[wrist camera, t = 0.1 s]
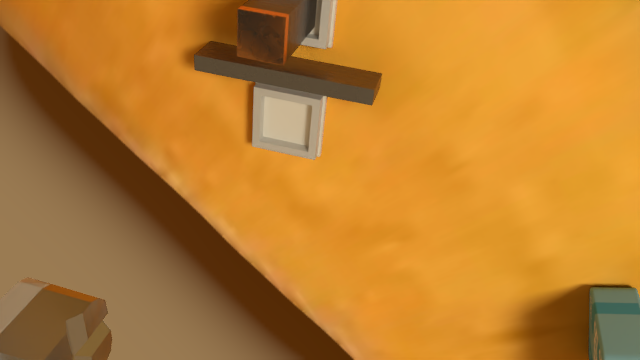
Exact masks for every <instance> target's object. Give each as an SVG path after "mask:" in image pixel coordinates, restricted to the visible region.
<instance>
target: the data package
mask: <svg viewBox="0 0 640 360" xmlns="http://www.w3.org/2000/svg"><path fill="white" fill-rule="evenodd" d="M589 360H640V298H639V294H638V291H637V289H636V288H611V287H592V288H590V298H589Z"/></svg>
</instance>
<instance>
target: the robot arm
mask: <svg viewBox="0 0 640 360" xmlns="http://www.w3.org/2000/svg"><path fill="white" fill-rule="evenodd" d="M107 314H108V311H107V306H106V302H105V300H103V299H100V298H96V297H93V296H90V295H86V294H83V293H80V292H76V291H73V290H70V289H66V288H63V287H60V286H56V285H53V284H50V283H46V282H42V281H39V280H35V279H32V278H25V279H23V280H21V281H19V282H17V283H16V284H15V285H14V286H13V287H12V288H11V289H10V290H9V291H8V292H7V293H6V294H5V295H4V296H3V297H2V298H1V299H0V360H107V359H108V357H109V354H110V351H111V344H112V335H111V330H110V329H109V327H108V326H107V325H106V324H105V323H104V321H103V319H104V318H105V316H106V315H107Z"/></svg>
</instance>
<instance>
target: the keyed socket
mask: <svg viewBox="0 0 640 360" xmlns="http://www.w3.org/2000/svg"><path fill="white" fill-rule="evenodd" d="M326 103H327V96H322V95H317V94H312V93H307V92H302V91H297V90H292V89H287V88H282V87H277V86H272V85H267V84H262V83H257V82H256V83H255V86H254V98H253V132H252V146H253V147H258V148H262V149H267V150H271V151H276V152H281V153H285V154H290V155H294V156H299V157H304V158H308V159H313V160H315V159H316V157H317V156H318V157H320V155H321V150H322V141H323V132H324V122H325V113H326Z"/></svg>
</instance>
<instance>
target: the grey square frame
mask: <svg viewBox="0 0 640 360" xmlns="http://www.w3.org/2000/svg"><path fill="white" fill-rule="evenodd" d="M336 9H337V0H317V8H316V20H315V27H314V28H313V30H312V31H311V32H310V33H309V34H308V36H307V37H306V38H305V39H304V40H303V42H302V43H301V44H300V45H306V46H311V47H316V48H322V49H326V48H327V47H329V48H331V47H332V46H333V38H334V28H335V19H336Z"/></svg>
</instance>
